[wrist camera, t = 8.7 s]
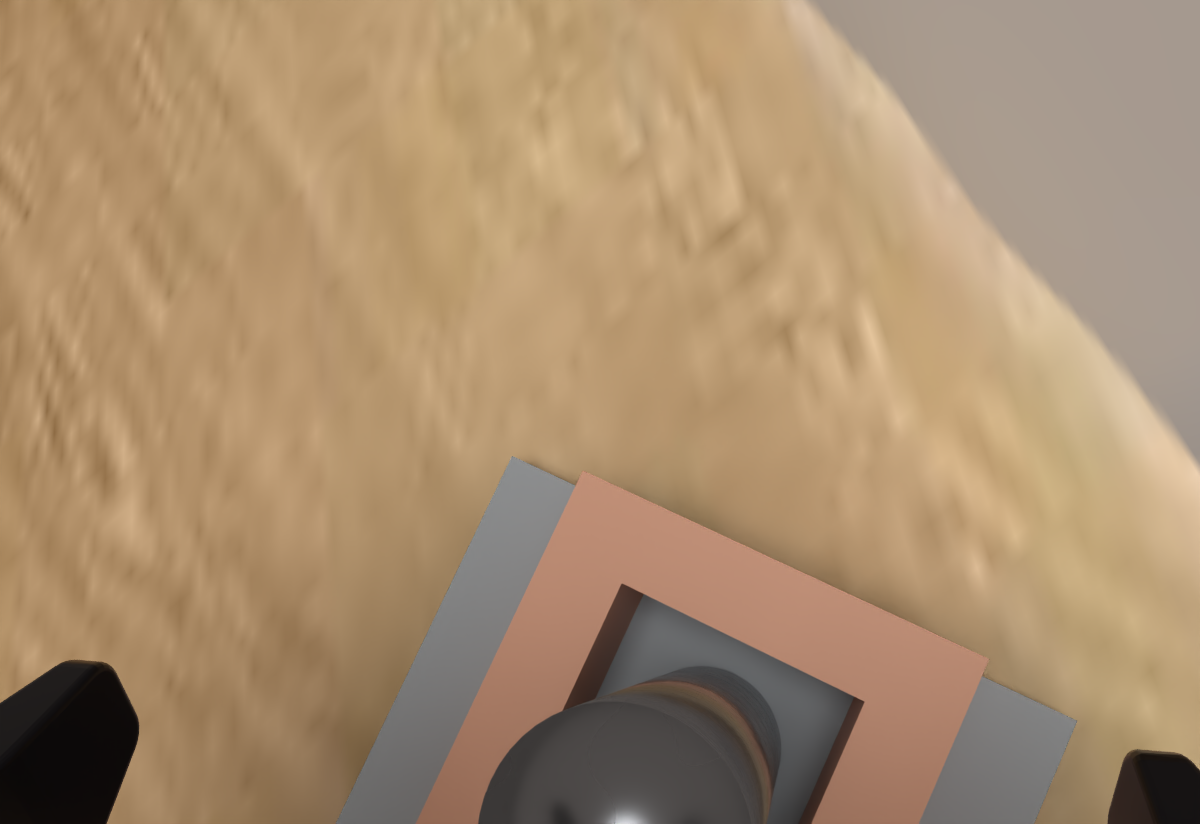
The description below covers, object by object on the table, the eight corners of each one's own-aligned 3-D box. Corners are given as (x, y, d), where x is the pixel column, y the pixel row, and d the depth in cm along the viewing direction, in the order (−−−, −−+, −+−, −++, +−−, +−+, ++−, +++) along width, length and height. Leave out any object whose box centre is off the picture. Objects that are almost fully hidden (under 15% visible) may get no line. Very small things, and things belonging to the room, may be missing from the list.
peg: (741, 855, 21) (680, 1059, 11) (602, 780, 21) (430, 909, 12) (806, 709, 21) (803, 783, 11) (666, 639, 22) (549, 653, 12)
